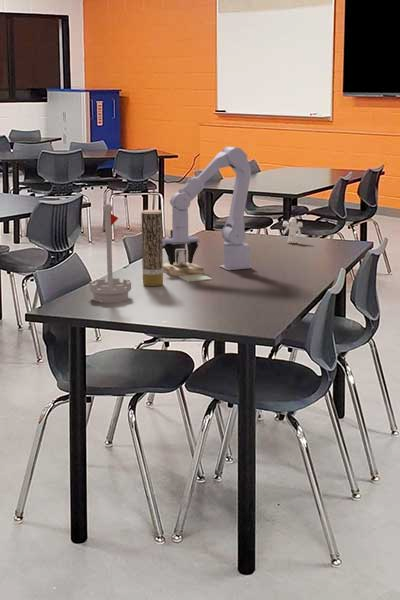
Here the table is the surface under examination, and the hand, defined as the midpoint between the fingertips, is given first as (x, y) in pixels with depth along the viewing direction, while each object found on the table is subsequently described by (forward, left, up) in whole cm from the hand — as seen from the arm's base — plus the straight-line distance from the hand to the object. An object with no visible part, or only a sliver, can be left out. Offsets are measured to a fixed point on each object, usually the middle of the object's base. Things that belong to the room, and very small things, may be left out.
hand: (180, 263), depth 324 cm
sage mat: (0, +14, -3) cm, 14 cm away
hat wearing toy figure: (-66, -39, -3) cm, 77 cm away
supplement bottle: (-6, -20, -3) cm, 21 cm away
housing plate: (0, 0, -3) cm, 3 cm away
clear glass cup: (0, 0, -3) cm, 3 cm away
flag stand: (+36, +32, -3) cm, 48 cm away
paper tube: (+17, +18, -3) cm, 25 cm away
